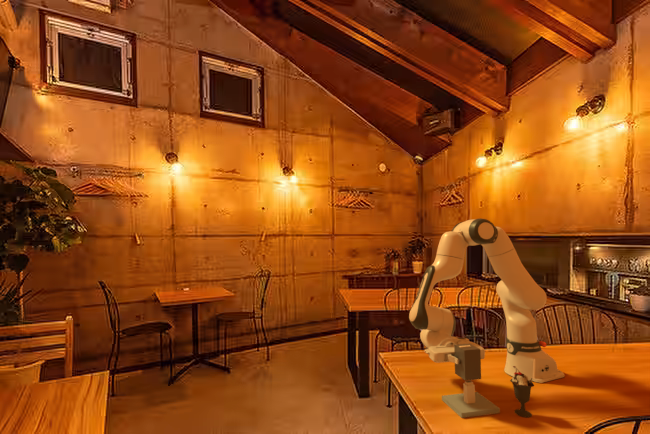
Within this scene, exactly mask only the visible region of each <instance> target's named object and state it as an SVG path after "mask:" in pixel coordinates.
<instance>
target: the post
mask: <svg viewBox="0 0 650 434" xmlns="http://www.w3.org/2000/svg"><path fill="white" fill-rule="evenodd" d="M462 385H463V386H462V388H463V393H454V394H447V395H444V394H443V395H441V401H443V403H445V404H446V405H447V406H448V407H449V408H450V409H451V410H452V411H453V412H454V413H455V414H457V415H458V416H459V418H461V419H463V418H471V417H472V418H473V417H479V416H486V415H487V416H488V415H493V414H500V413H501V408H500V407H498V406H497V405H496V404H494V402H492V401H491V400H489V399H488V398H486V397H485V396H483V395H482V394H481V393H480V392H478V391H476V388H475V386H476V385H475V384H474V382H473V380H467V381H465V380H464V382H463V383H462Z"/></svg>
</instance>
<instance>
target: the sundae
mask: <svg viewBox="0 0 650 434" xmlns="http://www.w3.org/2000/svg"><path fill="white" fill-rule="evenodd" d="M513 367H514V368H515V369H517V368H516V367H515V366H513ZM517 370H518V369H517ZM517 370H516V372H515V373H514V374H515V375H514V376H512V378H511V379H510V380H509V382H511V383H512V387H513V392H514V395H515V396H514V397H515V399H516V400H517V401H518V402H519V403H520V408H518V409H515V410H514V413H515V415H517V416H519V417H522V418H526V419H527V418H531V417H532V416H533V414H532V412H530V411H528V410H526V403H529V402H530V399H531V390H532V388H534V387H535V385H534V383H533V381H531V380H532V378H531V380H528V378H527V376H526V375H524V374H522V373H521V372H518V373H517Z"/></svg>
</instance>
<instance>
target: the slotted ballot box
mask: <svg viewBox="0 0 650 434" xmlns="http://www.w3.org/2000/svg"><path fill="white" fill-rule="evenodd" d="M454 352H455V357H459V358H460V359H461V364H456V363H454V374H455V375H456V376H458V377H460V378H461V379H462V380H463V381H464V382H465V381H470V380H471V381H474V380H475V381H478V380H482V362H481V360H482V359H481V356H480V349H479V348H477V347H475V346H473V345H471V344H470V343H469V344H456V345H454Z"/></svg>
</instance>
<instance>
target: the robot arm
mask: <svg viewBox="0 0 650 434" xmlns="http://www.w3.org/2000/svg"><path fill="white" fill-rule="evenodd" d="M479 245H480V246H482V248H483V249H484V252H485V253H486V256H487V258H488V260H489V264H490V265H491V266H492V270H493V272H494V273H495V275H497V277H498V278H500V281H498V283H497V284H496V287H495V291H496V294H497V296H498V297H499V299H500V302H501V306H502V309H503V313H504V316H505V322H506V323H505V324H506V337H505V344H506V345H505V346H506V347H505V348H506V359H505V360H506V361H505V366H504V369H503V371H504V372H505V374H506V375H509V376H510V377H513V376H514V375H515V374H514V373H515V372H516V370H517V369H518V370H517V373H518V372H521V373H522V374H524V375H526V376H527V378H528V380H529V381H530V380H531V378H532V380H531V382H535V383H539V384H540V383H541V384H543V383H547V382H550V381H553V380H558V379H561V378H562V379H563V378H565V373H564V372H563V371H561V370H560V369H558V364H557V362H556V360H555V359H554V357H552V356H550V354H548V353H547V352H545V351H544V350H543V349H542V347H543V348H546V347H547V345H548V344H547V342H545V341H540V340H538V332H537V331H538V330H537V321H536V319H535V318H534V316H533V314H532V312H531V310H532V311H536V310H537V311H538V310H541V309H542V308H544V306H545V305H546V303H547V300H548V299H547V297H548V296H547V293H546V291H545V290H544V289H543V288H542V287H541V286H540V285H538V284H537V282H536V281H535V280H534V278H533V277H532V275H530V273H529V272H528V270H527V269H526V267H525V266H524V264H523V263H522V261H521V259H520V257H519V255H518V253H517V250H516V248H515V247H514V245H513V242H512V240H511V239H510V237H509V236H508V234H507V232H506V231H505V230H504V229H503V228H502V227H500V226H496V225H494V223H493V222H492V221H490V220H489V219H487V218H480V217H479V218H474V219H468V220H465V221H460V222H458V223H457V224H455V225H454V226H453V227H452V229H451V230H450V231H445V232H444V233H443V234H442V235H441V237H440V239H439V243H438V246H437V249H436V255H435V259H434V262H433V263H432V264H431V265H429V266H428V267H426V269H425V271H424V273H423V276H422V279H421V282H420V284H419V287H418V289H417V293H416V295H415V299H414V301H413V304H411V307H410V310H409V314H408V320H409V322H410V323H411V325H412V326H413V327H414V328H415V329H417V330H421V331H420V333H419V336H420V341H421V342H422V345H424V347H426V349H424V351H423V352H424V353H425V354H427V355H428V357H429V359H430V360H431V361H433V363H438V364H441V363H453V364H455V363H456V364H461V359H460V358H459V357H455V352H454V345H456V344H469V343H470V344H471V345H473V346H475V347H477V348H479V349H480V356H481V360H484V359H485V356H486V351H485V349H484V347H483V346H481V345H480V344H478V343H475V342H473V341H470V339H469V338H467V337H458V336H453V335H454V332H455V331H456V327H457V326H456V325H457V321H456V318H455V315H454V313H453V311H451V310H450V309H449V308H444V307H439V306H433V305H429V301H430V298H431V295H432V292H433V289H434V287H435V285H436V284H437V283H439V282H441V281H446V280H451V279H453V278H456V277H457V276H459V275H460V274H461V272H462V270H463V267H464V261H465V254H466V253H465V252H466V250H467V248H468V247H469V246H471V247H472V246H474V247H475V246H479ZM513 366H515V367H516V368H517V369H515V368H514V367H513Z"/></svg>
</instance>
